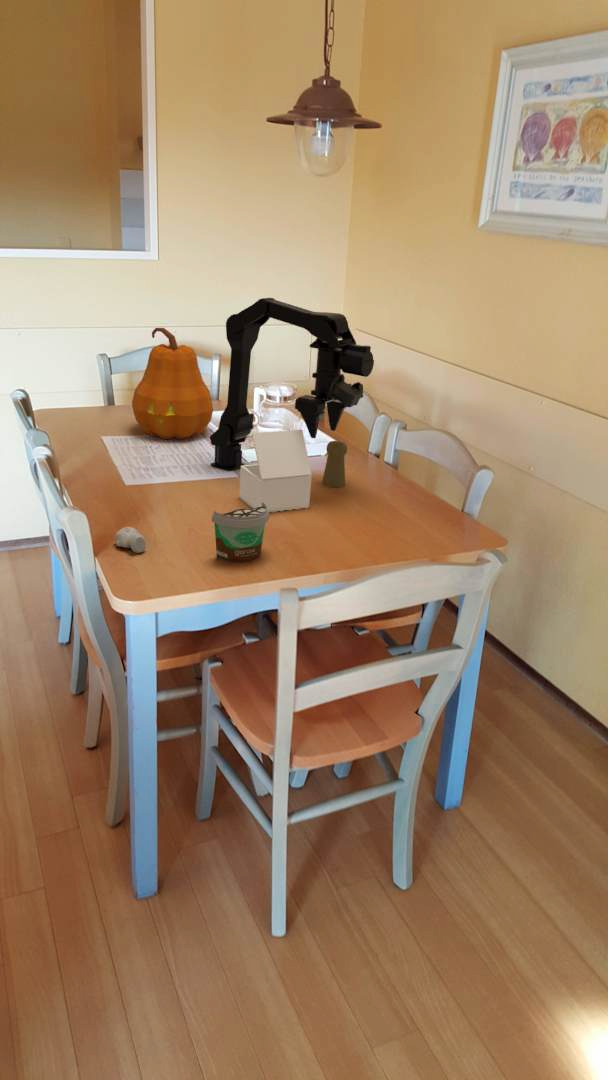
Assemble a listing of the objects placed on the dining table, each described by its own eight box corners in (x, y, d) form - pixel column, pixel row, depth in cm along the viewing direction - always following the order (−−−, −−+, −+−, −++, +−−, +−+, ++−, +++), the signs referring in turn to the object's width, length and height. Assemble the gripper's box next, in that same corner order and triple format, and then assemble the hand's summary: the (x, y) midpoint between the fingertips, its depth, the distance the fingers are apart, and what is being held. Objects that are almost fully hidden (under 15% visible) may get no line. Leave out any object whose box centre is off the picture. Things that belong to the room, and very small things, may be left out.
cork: (343, 488, 205) (347, 446, 201) (319, 485, 206) (323, 443, 202) (347, 481, 211) (351, 440, 207) (324, 478, 212) (327, 437, 208)
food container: (226, 570, 157) (228, 522, 153) (210, 558, 162) (211, 511, 158) (278, 558, 164) (282, 511, 160) (262, 547, 169) (264, 501, 165)
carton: (239, 497, 194) (240, 465, 191) (288, 492, 200) (290, 461, 197) (258, 514, 185) (260, 480, 182) (309, 508, 191) (311, 475, 188)
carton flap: (251, 433, 184) (252, 433, 183) (301, 430, 189) (302, 429, 189) (261, 479, 182) (262, 479, 182) (310, 474, 188) (311, 474, 187)
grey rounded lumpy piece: (114, 547, 166) (137, 537, 168) (128, 562, 160) (151, 551, 162) (107, 529, 164) (130, 519, 166) (121, 543, 158) (144, 532, 159)
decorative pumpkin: (117, 437, 232) (114, 330, 220) (154, 418, 253) (154, 319, 241) (193, 449, 226) (195, 340, 215) (225, 429, 247) (228, 328, 236)
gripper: (338, 381, 179) (332, 449, 185) (377, 370, 194) (370, 433, 200) (295, 372, 184) (291, 439, 190) (337, 362, 199) (331, 424, 205)
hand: (323, 434), depth 196 cm, fingers open, 9 cm apart
